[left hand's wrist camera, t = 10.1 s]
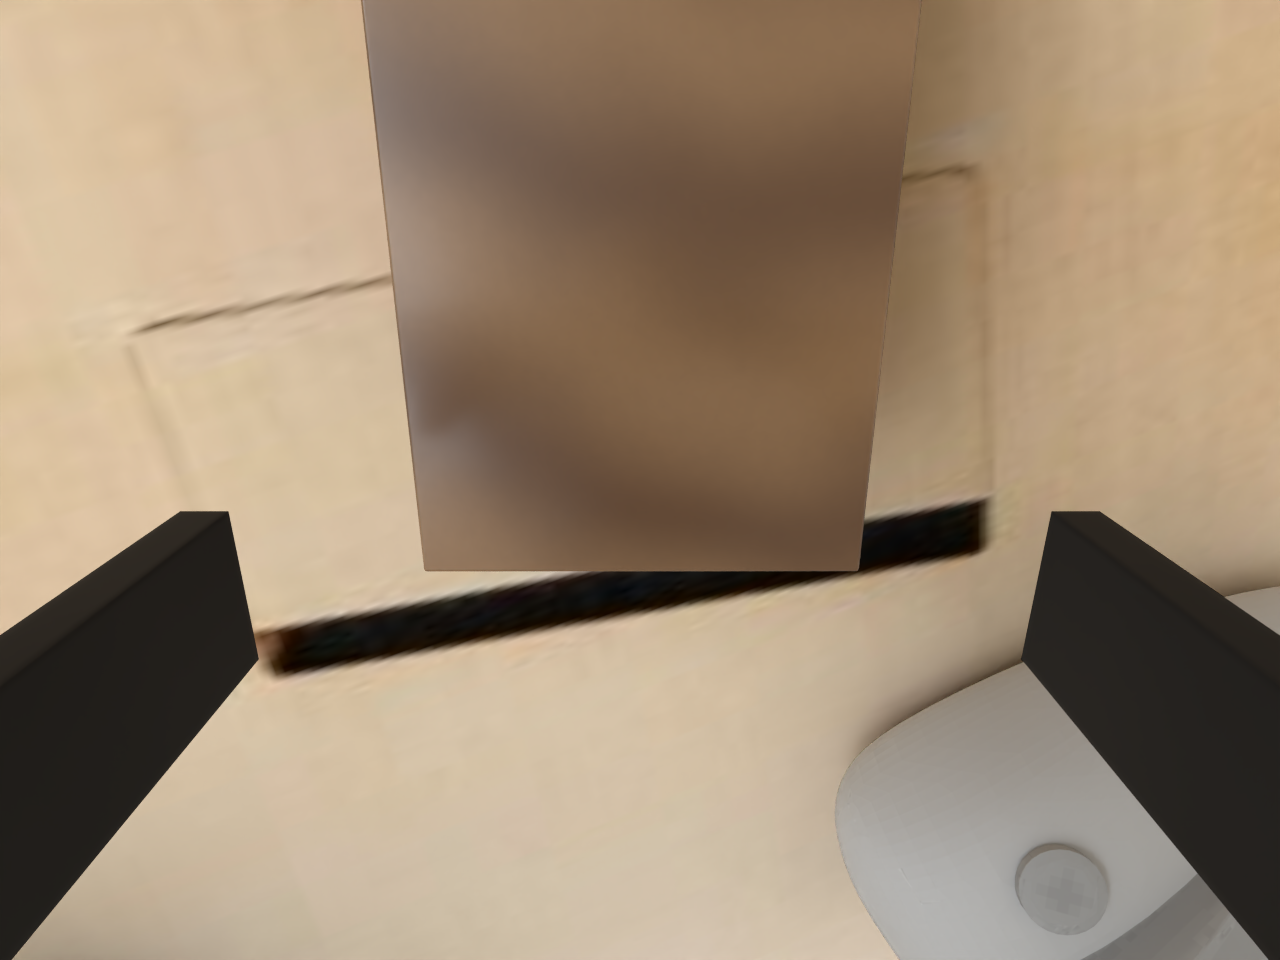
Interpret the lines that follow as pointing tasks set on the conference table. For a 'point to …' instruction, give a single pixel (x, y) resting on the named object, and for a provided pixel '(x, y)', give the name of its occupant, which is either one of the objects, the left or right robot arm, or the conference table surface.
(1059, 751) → the projector
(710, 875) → the conference table surface
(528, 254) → the cabinet
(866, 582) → the conference table surface
